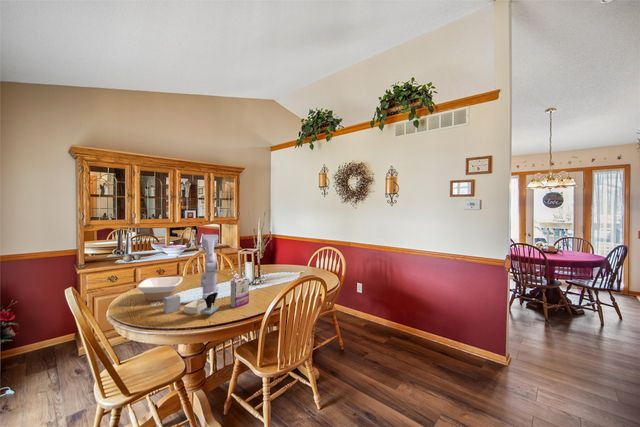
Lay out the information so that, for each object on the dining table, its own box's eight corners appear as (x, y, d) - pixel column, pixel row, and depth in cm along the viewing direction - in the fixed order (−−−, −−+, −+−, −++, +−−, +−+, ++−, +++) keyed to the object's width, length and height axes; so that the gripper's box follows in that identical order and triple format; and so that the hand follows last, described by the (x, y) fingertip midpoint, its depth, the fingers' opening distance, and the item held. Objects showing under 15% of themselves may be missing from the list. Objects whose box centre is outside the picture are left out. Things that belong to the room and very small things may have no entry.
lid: (209, 306, 162) (209, 299, 162) (218, 307, 162) (219, 301, 162) (200, 313, 152) (200, 306, 152) (210, 314, 152) (211, 307, 152)
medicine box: (177, 308, 165) (177, 294, 165) (180, 310, 162) (180, 296, 162) (163, 312, 159) (163, 297, 159) (166, 314, 156) (166, 299, 156)
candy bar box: (243, 301, 180) (244, 276, 180) (248, 303, 177) (249, 278, 177) (229, 306, 171) (230, 280, 170) (235, 308, 168) (236, 281, 167)
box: (197, 305, 170) (197, 299, 170) (208, 307, 169) (208, 300, 169) (183, 312, 159) (183, 306, 159) (195, 314, 157) (195, 307, 157)
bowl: (177, 302, 175) (177, 285, 175) (133, 304, 168) (133, 287, 168) (184, 290, 198) (184, 276, 198) (146, 292, 191) (146, 277, 191)
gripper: (210, 279, 164) (210, 301, 165) (197, 286, 150) (196, 311, 150) (221, 280, 164) (221, 302, 164) (209, 287, 149) (209, 311, 150)
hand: (210, 306), depth 157 cm, fingers closed on lid, 2 cm apart
